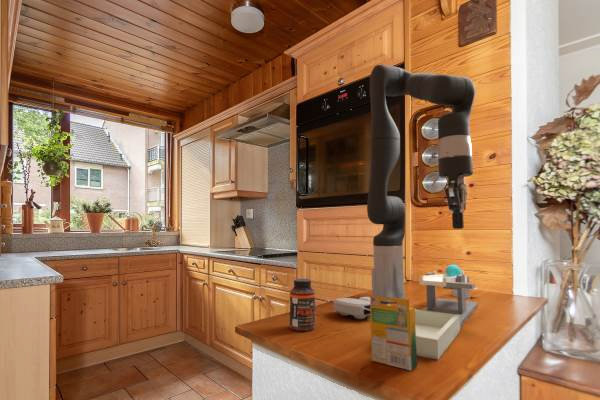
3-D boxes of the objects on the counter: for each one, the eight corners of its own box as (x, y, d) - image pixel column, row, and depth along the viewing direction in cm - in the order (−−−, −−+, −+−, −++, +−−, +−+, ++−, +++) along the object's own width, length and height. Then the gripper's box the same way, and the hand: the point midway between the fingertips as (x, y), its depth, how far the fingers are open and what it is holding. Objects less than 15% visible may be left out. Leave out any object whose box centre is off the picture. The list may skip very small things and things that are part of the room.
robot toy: (359, 309, 103) (324, 314, 93) (359, 293, 103) (325, 297, 93) (395, 317, 94) (361, 324, 84) (396, 300, 94) (362, 305, 84)
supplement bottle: (297, 333, 77) (296, 282, 78) (285, 327, 82) (285, 279, 83) (320, 329, 80) (319, 280, 81) (307, 323, 85) (307, 277, 86)
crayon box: (417, 365, 59) (415, 296, 60) (411, 371, 57) (409, 299, 58) (378, 356, 64) (376, 292, 64) (371, 361, 61) (369, 294, 62)
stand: (410, 322, 85) (409, 279, 86) (437, 301, 107) (436, 267, 108) (458, 329, 79) (456, 282, 79) (477, 305, 101) (475, 269, 101)
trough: (419, 292, 84) (419, 269, 85) (444, 287, 105) (444, 269, 106) (472, 298, 78) (471, 273, 79) (488, 291, 99) (487, 271, 99)
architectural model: (456, 295, 117) (455, 273, 118) (478, 298, 112) (477, 275, 113) (452, 297, 115) (451, 274, 115) (474, 300, 110) (473, 276, 110)
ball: (444, 277, 101) (444, 263, 102) (447, 278, 104) (447, 265, 105) (459, 278, 99) (459, 264, 100) (461, 279, 102) (462, 266, 103)
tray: (374, 346, 68) (374, 328, 69) (407, 322, 85) (406, 308, 85) (438, 359, 61) (437, 339, 62) (460, 330, 78) (459, 315, 78)
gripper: (444, 162, 91) (447, 228, 90) (431, 154, 80) (434, 229, 79) (476, 159, 87) (480, 228, 86) (466, 150, 76) (470, 229, 75)
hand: (458, 228), depth 82 cm, fingers closed
